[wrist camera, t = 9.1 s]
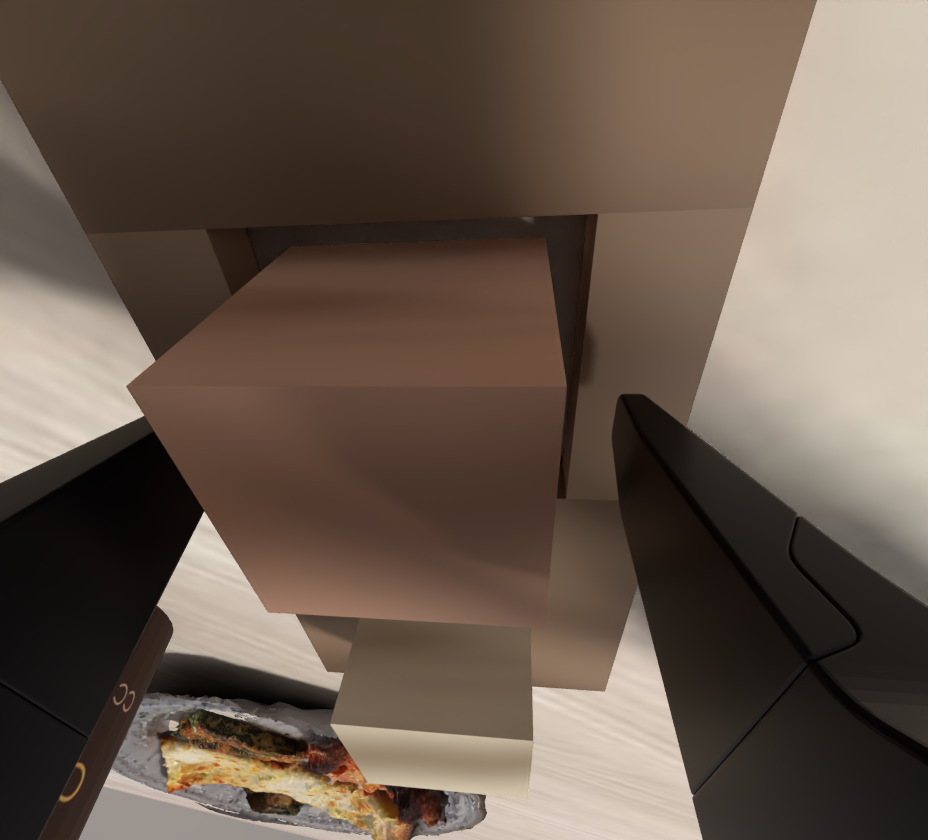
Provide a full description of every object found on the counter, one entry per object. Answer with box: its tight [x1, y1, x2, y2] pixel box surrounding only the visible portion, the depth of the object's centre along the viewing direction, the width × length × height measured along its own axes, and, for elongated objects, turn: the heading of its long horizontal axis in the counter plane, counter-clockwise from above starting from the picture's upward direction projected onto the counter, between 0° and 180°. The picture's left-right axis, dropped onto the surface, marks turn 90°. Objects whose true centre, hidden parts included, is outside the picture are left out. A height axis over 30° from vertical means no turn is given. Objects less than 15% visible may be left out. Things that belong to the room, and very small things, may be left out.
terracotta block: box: [126, 237, 567, 628], centre depth 9 cm, size 5×5×5 cm
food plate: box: [111, 692, 487, 840], centre depth 29 cm, size 25×23×4 cm
